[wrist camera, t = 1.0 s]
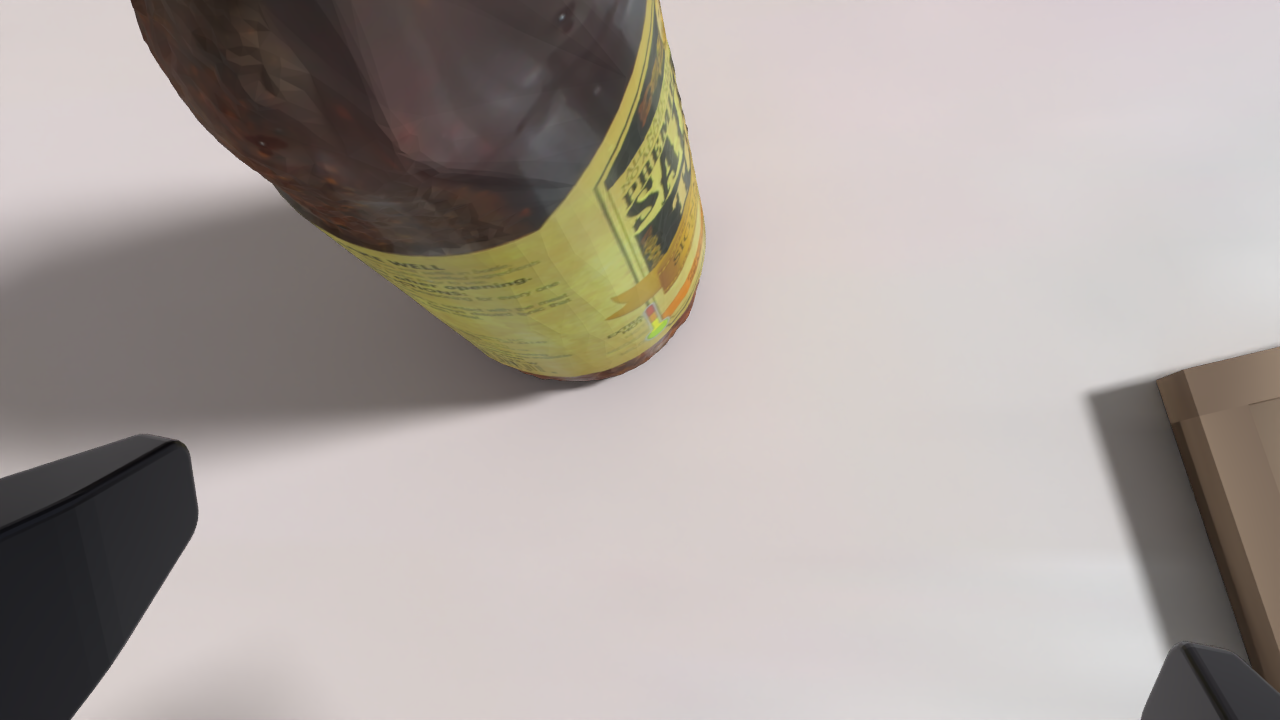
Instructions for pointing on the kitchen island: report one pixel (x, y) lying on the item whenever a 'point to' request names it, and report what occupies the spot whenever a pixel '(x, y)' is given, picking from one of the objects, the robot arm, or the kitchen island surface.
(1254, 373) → the square brown tray
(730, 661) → the kitchen island surface
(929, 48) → the kitchen island surface
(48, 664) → the robot arm
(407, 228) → the sauce bottle
